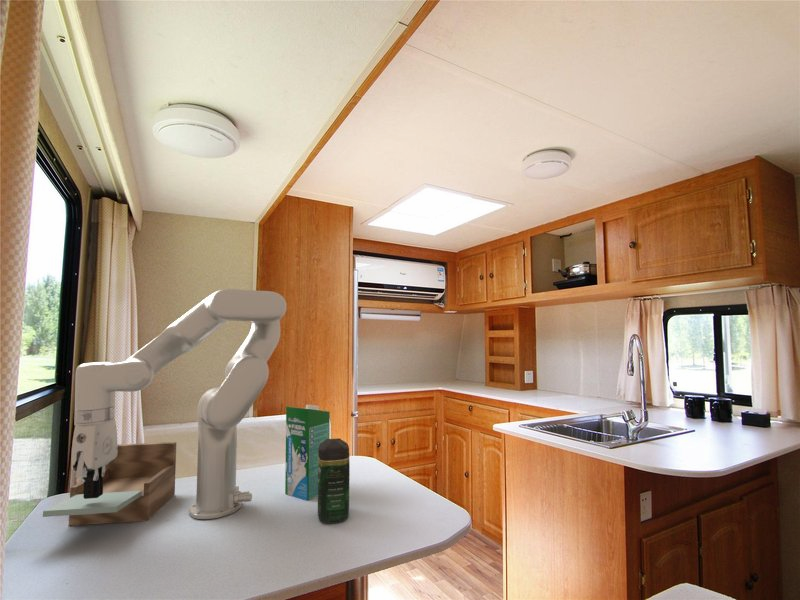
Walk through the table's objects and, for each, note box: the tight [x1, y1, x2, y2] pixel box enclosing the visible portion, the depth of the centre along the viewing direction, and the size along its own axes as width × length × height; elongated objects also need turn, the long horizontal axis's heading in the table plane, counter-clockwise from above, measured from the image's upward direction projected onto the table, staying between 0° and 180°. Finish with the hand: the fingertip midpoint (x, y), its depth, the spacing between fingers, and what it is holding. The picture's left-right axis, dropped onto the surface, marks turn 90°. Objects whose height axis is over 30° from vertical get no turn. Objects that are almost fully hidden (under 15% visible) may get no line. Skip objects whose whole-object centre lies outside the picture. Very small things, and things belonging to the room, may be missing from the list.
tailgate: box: [42, 491, 142, 518], centre depth 94 cm, size 15×2×11 cm
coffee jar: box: [317, 438, 351, 524], centre depth 103 cm, size 10×8×19 cm
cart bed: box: [68, 441, 177, 526], centre depth 108 cm, size 18×16×15 cm
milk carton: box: [284, 404, 331, 501], centre depth 119 cm, size 9×9×25 cm
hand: (93, 496), depth 93 cm, fingers closed
